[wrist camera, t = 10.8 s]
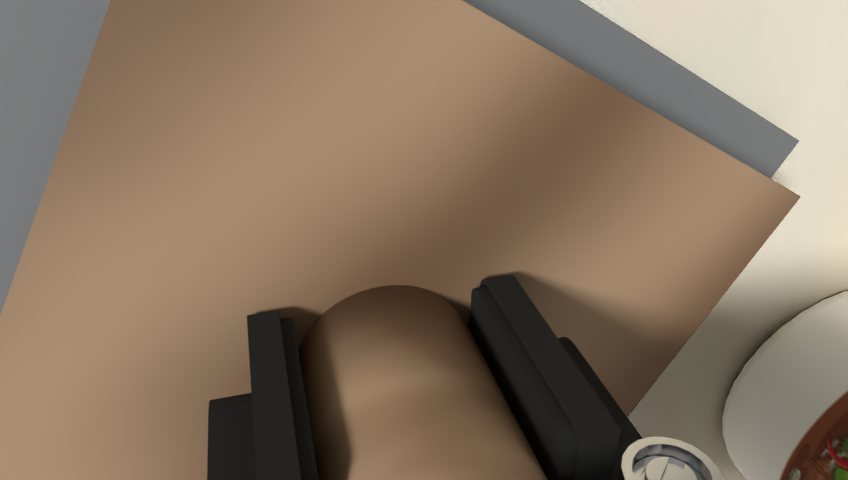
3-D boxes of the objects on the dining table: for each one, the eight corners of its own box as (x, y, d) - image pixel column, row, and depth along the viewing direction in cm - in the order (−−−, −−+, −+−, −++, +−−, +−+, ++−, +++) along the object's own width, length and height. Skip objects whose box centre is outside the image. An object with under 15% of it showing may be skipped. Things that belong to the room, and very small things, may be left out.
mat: (781, 131, 16) (799, 141, 16) (484, 528, 21) (491, 545, 20) (59, -327, 9) (50, -338, 9) (-149, 426, 14) (-163, 447, 13)
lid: (765, 175, 14) (1079, 362, 9) (471, 564, 18) (571, 848, 13) (175, -168, 8) (109, -194, 3) (-59, 494, 12) (-248, 933, 7)
